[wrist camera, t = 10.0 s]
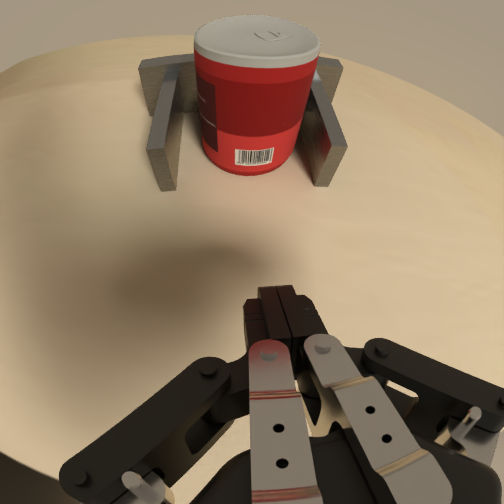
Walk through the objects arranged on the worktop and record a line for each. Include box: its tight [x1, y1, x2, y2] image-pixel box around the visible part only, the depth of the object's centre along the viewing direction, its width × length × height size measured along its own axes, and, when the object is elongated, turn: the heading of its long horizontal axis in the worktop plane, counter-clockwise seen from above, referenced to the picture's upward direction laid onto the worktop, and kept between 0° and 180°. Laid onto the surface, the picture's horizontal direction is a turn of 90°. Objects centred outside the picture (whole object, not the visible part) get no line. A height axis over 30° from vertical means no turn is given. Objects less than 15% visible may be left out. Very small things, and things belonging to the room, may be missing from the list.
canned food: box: [194, 15, 320, 176], centre depth 18 cm, size 8×8×11 cm
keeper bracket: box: [138, 54, 348, 191], centre depth 21 cm, size 11×18×6 cm, turn 94°
